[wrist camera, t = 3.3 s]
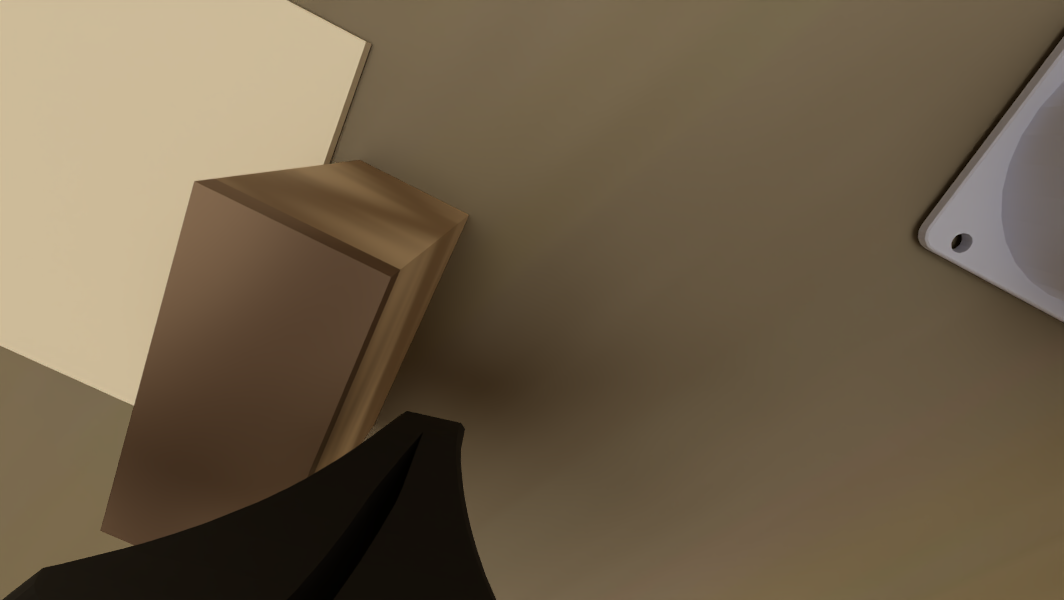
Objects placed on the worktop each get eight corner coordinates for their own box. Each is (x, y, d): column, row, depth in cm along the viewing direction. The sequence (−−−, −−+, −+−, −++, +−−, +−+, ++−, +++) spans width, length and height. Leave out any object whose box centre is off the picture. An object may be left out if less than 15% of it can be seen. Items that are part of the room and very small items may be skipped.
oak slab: (469, 214, 15) (390, 277, 9) (374, 424, 18) (256, 597, 11) (360, 159, 15) (194, 181, 8) (279, 379, 18) (100, 530, 11)
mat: (371, 44, 14) (366, 41, 14) (232, 440, 18) (224, 446, 18) (-65, -184, 13) (-83, -193, 13) (-104, 288, 17) (-120, 291, 17)
